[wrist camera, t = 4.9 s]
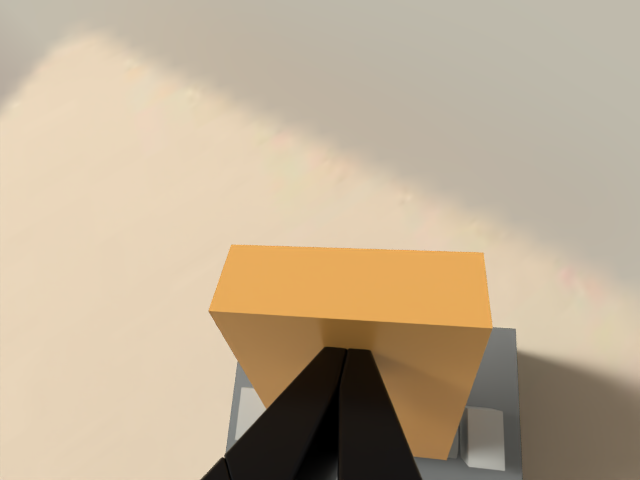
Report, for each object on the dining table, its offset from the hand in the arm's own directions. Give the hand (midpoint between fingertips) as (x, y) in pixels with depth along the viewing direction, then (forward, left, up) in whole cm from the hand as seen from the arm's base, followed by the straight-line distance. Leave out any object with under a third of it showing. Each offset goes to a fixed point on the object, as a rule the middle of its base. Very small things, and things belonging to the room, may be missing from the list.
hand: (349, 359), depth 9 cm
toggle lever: (-1, +1, -6) cm, 6 cm away
